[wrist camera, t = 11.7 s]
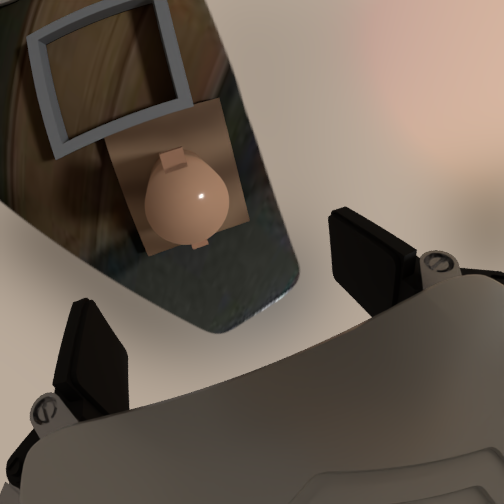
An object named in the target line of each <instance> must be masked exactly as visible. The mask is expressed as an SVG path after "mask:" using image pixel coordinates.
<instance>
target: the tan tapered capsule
mask: <svg viewBox="0 0 504 504" xmlns="http://www.w3.org/2000/svg"><path fill="white" fill-rule="evenodd" d="M159 155H160V157H159V158H158V159H157V160H156V161H155V163H154V164H153V166H152V169H151V172H150V177H149V182H148V187H147V192H146V197H145V214H146V217H147V220H148V222H149V224H150V226H151V227H152V229H153V230H154V231H155V232H156V233H157V234H158V235H159V236H160V237H162V238H163V239H165V240H167V241H169V242H172V243H175V244H182V245H189V244H192V247H193V249H196V248H198V247H201V246H204V245H207V244H208V241H207V239H208V238H209V237H211V236H212V235H213V234H214V233H216V232H217V231H218V229H219V228H220V227H221V226H222V224H223V223H224V221H225V219H226V216H227V213H228V209H229V195H228V191H227V188H226V185H225V183H224V182H223V180H222V179H221V177H220V176H219V175H218V174H217V173H216V172H215V171H214V170H213V169H212V168H211V167H210V166H209V165H208V164H207V163H206V162H205V161H204V160H203V159H202V158H201V157H200V156H198V155H197V154H196V153H194V152H192V151H190V150H186V149H183V148H182V146H180V147H177V148H173V149H170V150H167V151H164V152H161V153H159Z"/></svg>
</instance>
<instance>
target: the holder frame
mask: <svg viewBox="0 0 504 504" xmlns="http://www.w3.org/2000/svg"><path fill="white" fill-rule="evenodd" d="M150 3H153V7H154V11H155V15H156V20H157V24H158V28H159V32H160V36H161V40H162V44H163V48H164V52H165V56H166V60H167V64H168V68H169V72H170V76H171V80H172V83H173V87H174V91H175V95H176V99H174V100H171V101H168V102H165V103H162V104H159V105H155V106H152V107H149V108H147V109H144V110H141V111H138V112H135V113H133V114H130V115H127V116H125V117H122V118H119V119H117V120H114V121H112V122H109V123H107V124H105V125H102V126H100V127H97V128H95V129H93V130H91V131H88V132H86V133H84V134H82V135H80V136H77V137H75V138H73V139H71V140H69V139H68V136H67V133H66V130H65V126H64V123H63V119H62V116H61V112H60V108H59V105H58V101H57V97H56V93H55V89H54V84H53V80H52V75H51V71H50V66H49V60H48V55H47V49H46V44H48V43H50V42H52V41H54V40H56V39H58V38H60V37H62V36H64V35H66V34H68V33H71V32H73V31H75V30H77V29H79V28H82V27H84V26H86V25H89V24H91V23H94V22H96V21H99V20H101V19H104V18H107V17H109V16H112V15H115V14H118V13H121V12H124V11H127V10H130V9H133V8H136V7H140V6H143V5H147V4H150ZM27 44H28V51H29V57H30V63H31V69H32V74H33V79H34V84H35V88H36V93H37V97H38V101H39V105H40V109H41V113H42V117H43V121H44V124H45V128H46V131H47V135H48V138H49V141H50V144H51V147H52V151H53V154H54V157H55V160H57V159H59V158H61V157H63V156H65V155H67V154H69V153H71V152H73V151H76V150H78V149H80V148H82V147H84V146H86V145H89V144H91V143H93V142H95V141H98V140H100V139H102V138H105V137H107V136H109V135H112V134H114V133H117V132H119V131H122V130H124V129H127V128H130V127H132V126H135V125H138V124H141V123H143V122H146V121H149V120H152V119H155V118H158V117H161V116H164V115H167V114H170V113H173V112H177V111H180V110H183V109H187V108H190V107H193V106H194V105H193V101H192V97H191V94H190V90H189V86H188V82H187V78H186V74H185V71H184V67H183V63H182V59H181V55H180V51H179V47H178V43H177V39H176V35H175V31H174V27H173V23H172V19H171V15H170V11H169V7H168V3H167V0H103V1H100V2H98V3H95V4H92V5H90V6H88V7H85V8H83V9H80V10H78V11H76V12H74V13H71V14H69V15H67V16H65V17H63V18H61V19H59V20H57V21H55V22H53V23H51V24H49V25H47V26H45V27H43V28H41V29H39V30H38V31H36V32H34V33H32V34H30V35H29V36H27Z"/></svg>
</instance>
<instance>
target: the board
mask: <svg viewBox="0 0 504 504" xmlns="http://www.w3.org/2000/svg"><path fill="white" fill-rule="evenodd" d="M104 139H105V142H106V146H107V149H108V152H109V155H110V158H111V161H112V164H113V167H114V170H115V172H116V175H117V178H118V181H119V184H120V186H121V189H122V192H123V195H124V197H125V200H126V203H127V205H128V208H129V210H130V213H131V215H132V218H133V220H134V223H135V225H136V228H137V230H138V233H139V235H140V238H141V240H142V242H143V245H144V247H145V249H146V252H147V254H148V256H151V255H154V254H157V253H159V252H162V251H165V250H168V249H170V248H173V247H176V246H179V245H182V244H175V243H172V242H169V241H167V240H165V239H163V238H162V237H160V236H159V235H158V234H157V233H156V232H155V231H154V230H153V229H152V227H151V226H150V224H149V222H148V220H147V217H146V214H145V197H146V192H147V187H148V182H149V177H150V172H151V169H152V166H153V164H154V163H155V161H156V160H157V159H158V158H159V157H160V155H159V153H161V152H164V151H167V150H170V149H173V148H177V147H180V146H182V148H183V149H186V150H190V151H192V152H194V153H196V154H197V155H198V156H200V157H201V158H202V159H203V160H204V161H205V162H206V163H207V164H208V165H209V166H210V167H211V168H212V169H213V170H214V171H215V172H216V173H217V174H218V175H219V176H220V177H221V179H222V180H223V182H224V183H225V185H226V188H227V191H228V195H229V209H228V213H227V216H226V219H225V221H224V223H223V224H222V226H221V227H220V228H219V229H218V231H221V230H224V229H227V228H230V227H233V226H236V225H239V224H242V223H245V222H248V221H250V220H249V216H248V212H247V208H246V204H245V200H244V196H243V192H242V187H241V183H240V179H239V175H238V171H237V167H236V163H235V159H234V155H233V151H232V147H231V143H230V139H229V135H228V131H227V127H226V123H225V119H224V115H223V111H222V107H221V103H220V99H219V98H216V99H212V100H208V101H205V102H201V103H197V104H194V106H193V107H190V108H187V109H183V110H180V111H177V112H173V113H170V114H167V115H164V116H161V117H158V118H155V119H152V120H149V121H146V122H143V123H141V124H138V125H135V126H132V127H130V128H127V129H124V130H122V131H119V132H117V133H114V134H112V135H109V136H107V137H105V138H104ZM218 231H217V232H218Z"/></svg>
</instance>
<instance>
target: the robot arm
mask: <svg viewBox="0 0 504 504" xmlns="http://www.w3.org/2000/svg"><path fill="white" fill-rule="evenodd" d="M15 1H17V0H0V6H3V5H7V4H10V3H12V2H15ZM328 223H329V234H330V245H331V257H332V271H333V276H334V278H335V280H336V281H337V282H338V283H339V284H340V285H341V286H342V287H343V288H344V289H345V290H346V291H347V292H348V293H349V294H350V295H351V296H352V297H353V298H354V299H355V300H356V301H357V302H358V303H359V304H360V305H361V306H362V307H363V308H364V309H365V310H366V311H367V312H368V314H369V315H370V316H371V317H372V318H370V319H368V320H366V321H364V322H362V323H360V324H358V325H356V326H354V327H352V328H350V329H348V330H347V331H344V332H342V333H340V334H338V335H336V336H334V337H331V338H330V339H327V340H325V341H323V342H321V343H319V344H316V345H314V346H312V347H310V348H307V349H305V350H303V351H300V352H298V353H296V354H294V355H291V356H289V357H286V358H284V359H282V360H279V361H277V362H274V363H272V364H269V365H267V366H264V367H262V368H259V369H256V370H254V371H251V372H249V373H246V374H243V375H241V376H238V377H235V378H232V379H230V380H227V381H224V382H221V383H218V384H215V385H212V386H209V387H206V388H204V389H200V390H197V391H194V392H191V393H188V394H185V395H181V396H178V397H175V398H171V399H168V400H164V401H161V402H157V403H154V404H150V405H147V406H142V407H139V408H135V409H131V410H129V393H128V392H129V390H128V355H127V352H126V350H125V348H124V347H123V345H122V344H121V342H120V341H119V339H118V338H117V336H116V335H115V333H114V332H113V331H112V329H111V328H110V326H109V324H108V323H107V321H106V320H105V318H104V316H103V315H102V313H101V312H100V310H99V308H98V307H97V306H96V303H95V302H94V301H93V300H89V299H88V298H84V299H81V300H79V301H76V302H73V305H72V307H71V311H70V314H69V317H68V321H67V325H66V328H65V332H64V335H63V339H62V343H61V347H60V351H59V355H58V360H57V364H56V369H55V374H54V379H53V386H54V387H55V392H54V393H45V394H43V395H41V396H40V397H39V398H38V399H37V400H36V401H35V402H34V404H33V406H32V408H31V412H30V421H31V423H32V425H33V427H34V429H33V430H32V431H31V432H30V433H29V435H28V436H27V437H26V438H25V439H24V441H23V442H22V443H21V444H20V445H19V447H18V448H17V449H16V450H15V452H14V453H13V454H12V455H11V457H10V458H9V460H8V461H7V466H6V474H7V477H8V480H9V484H8V483H6V482H5V484H4V486H3V489H2V491H1V494H0V504H504V273H502V272H499V271H489V270H478V269H465V268H460V267H459V264H458V262H457V260H456V259H455V258H454V257H453V256H452V255H451V254H449V253H446V252H443V251H437V250H435V251H429V252H426V253H424V254H423V255H422V256H421V257H420V258H419V257H417V256H416V253H417V252H416V251H417V250H416V249H415V248H413V247H412V246H410V245H408V244H407V243H405V242H404V241H402V240H401V239H399V238H397V237H396V236H394V235H393V234H391V233H390V232H388V231H386V230H385V229H383V228H381V227H380V226H378V225H376V224H375V223H373V222H372V221H370V220H368V219H367V218H365V217H363V216H361V215H359V214H358V213H356V212H355V211H353V210H351V209H349V208H347V207H343V208H339V209H336V210H333V211H332V212H331V215H330V216H329V217H328Z"/></svg>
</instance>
